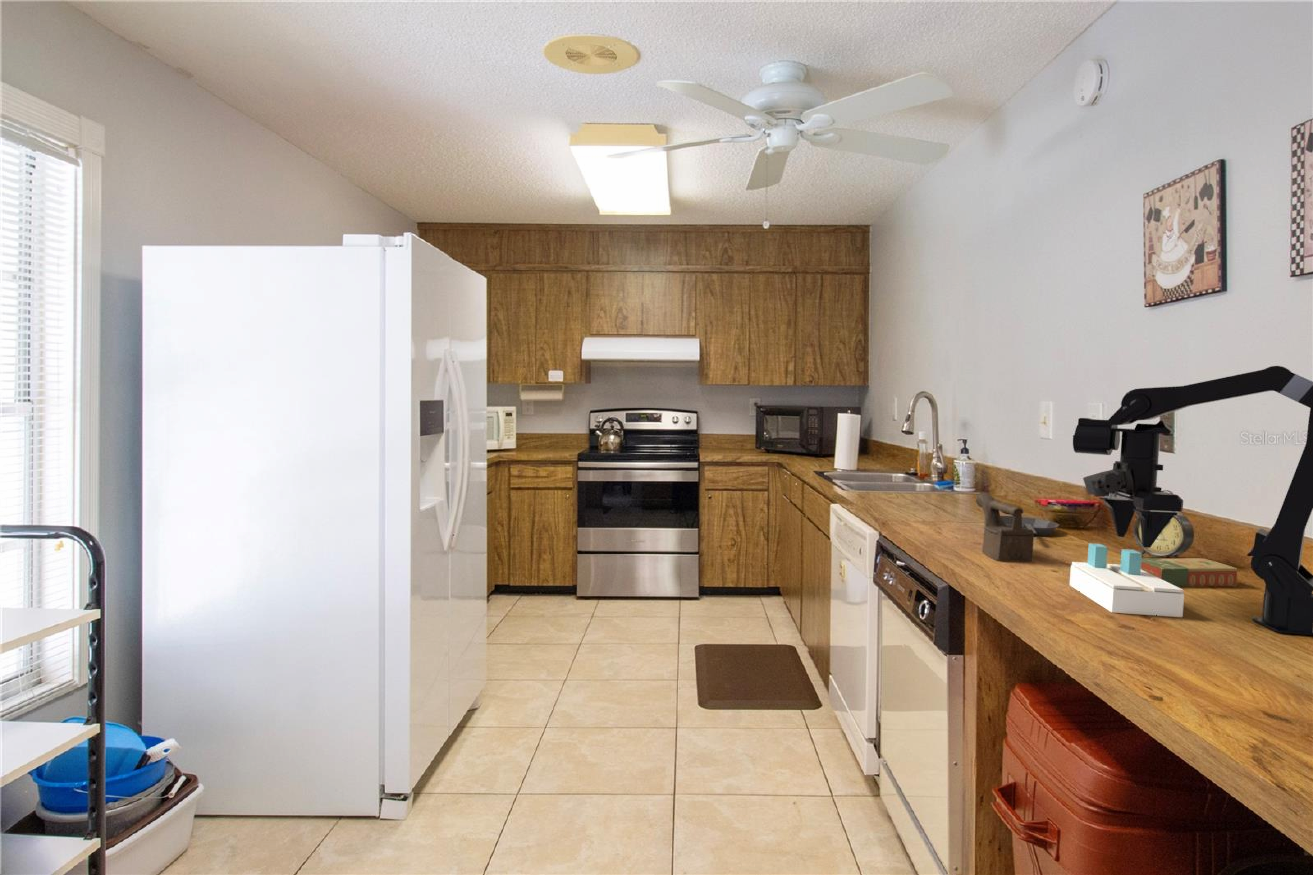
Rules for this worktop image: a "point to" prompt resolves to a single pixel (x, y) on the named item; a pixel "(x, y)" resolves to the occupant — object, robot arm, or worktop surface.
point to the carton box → (1127, 596)
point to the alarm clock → (1168, 537)
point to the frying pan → (1033, 525)
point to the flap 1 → (1103, 569)
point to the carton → (1191, 571)
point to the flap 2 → (1141, 572)
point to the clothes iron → (1004, 531)
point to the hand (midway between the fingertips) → (1133, 541)
